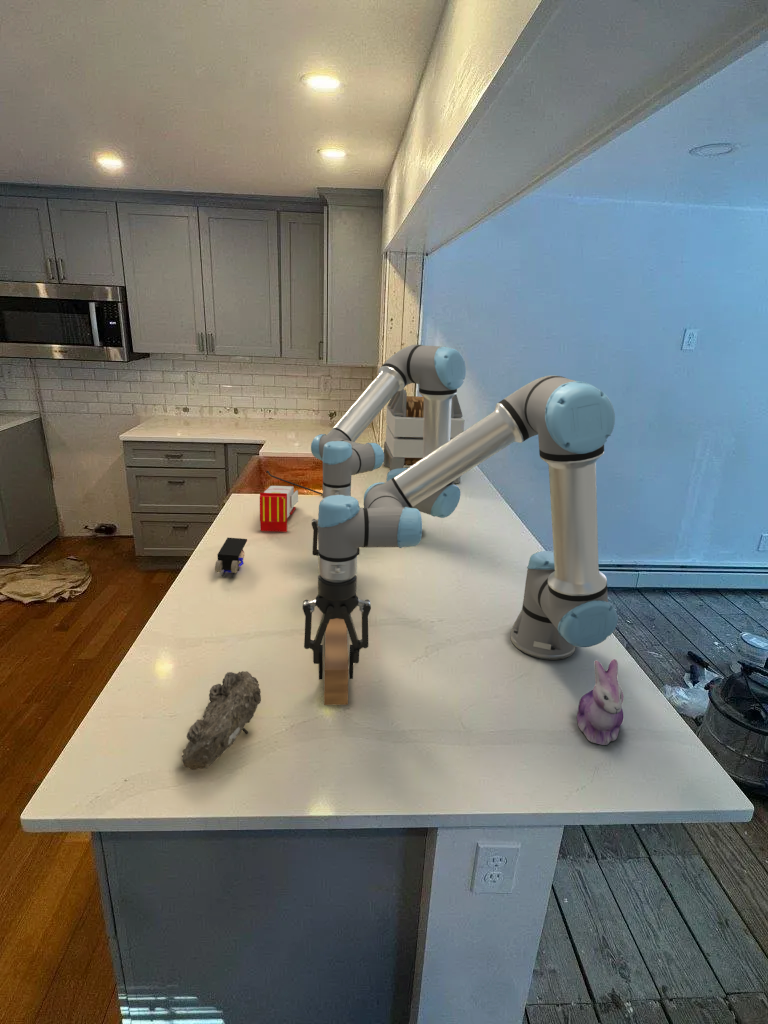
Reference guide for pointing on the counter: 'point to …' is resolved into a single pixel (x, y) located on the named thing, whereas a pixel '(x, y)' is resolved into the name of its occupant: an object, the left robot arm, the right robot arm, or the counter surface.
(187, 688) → the counter surface
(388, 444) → the grey tall slatted box
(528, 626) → the right robot arm
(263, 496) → the toy
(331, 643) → the post
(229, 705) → the fossil
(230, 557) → the figurine character
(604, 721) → the figurine
